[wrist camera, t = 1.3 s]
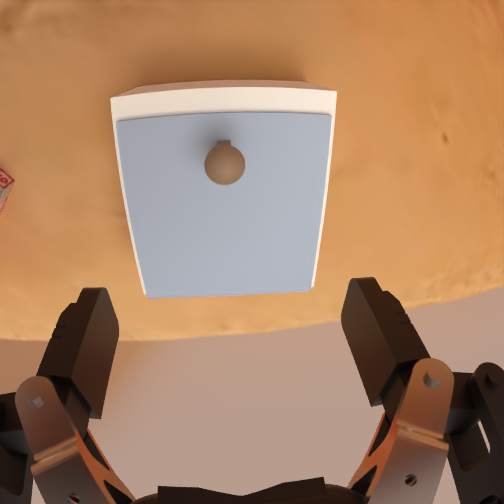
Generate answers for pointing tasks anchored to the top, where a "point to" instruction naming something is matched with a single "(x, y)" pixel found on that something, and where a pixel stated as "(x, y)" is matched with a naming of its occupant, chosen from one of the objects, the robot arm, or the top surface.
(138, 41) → the top surface
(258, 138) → the box lid
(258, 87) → the carton
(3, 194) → the stack of blocks
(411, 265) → the top surface
